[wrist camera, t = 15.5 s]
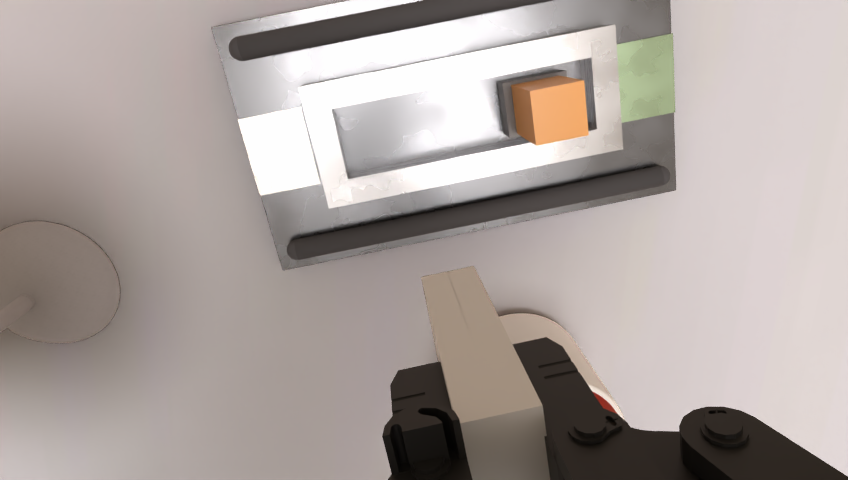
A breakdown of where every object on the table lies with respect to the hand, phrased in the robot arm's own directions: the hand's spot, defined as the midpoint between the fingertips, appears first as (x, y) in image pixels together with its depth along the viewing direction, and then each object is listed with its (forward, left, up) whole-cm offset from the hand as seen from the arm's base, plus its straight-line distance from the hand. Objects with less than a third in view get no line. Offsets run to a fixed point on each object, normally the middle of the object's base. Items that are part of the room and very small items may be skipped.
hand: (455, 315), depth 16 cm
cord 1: (+4, -4, -23) cm, 23 cm away
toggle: (+9, +2, -23) cm, 24 cm away
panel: (+4, +2, -24) cm, 24 cm away
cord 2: (+4, +9, -23) cm, 25 cm away
